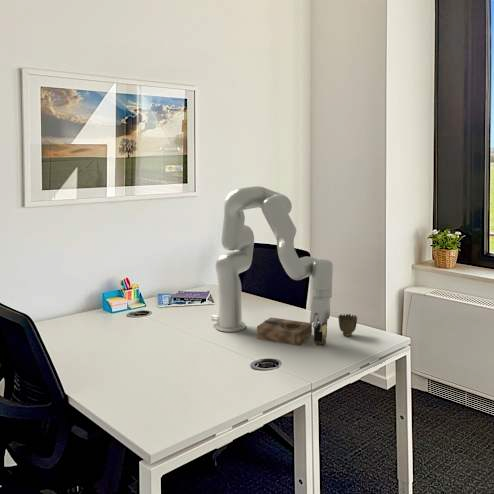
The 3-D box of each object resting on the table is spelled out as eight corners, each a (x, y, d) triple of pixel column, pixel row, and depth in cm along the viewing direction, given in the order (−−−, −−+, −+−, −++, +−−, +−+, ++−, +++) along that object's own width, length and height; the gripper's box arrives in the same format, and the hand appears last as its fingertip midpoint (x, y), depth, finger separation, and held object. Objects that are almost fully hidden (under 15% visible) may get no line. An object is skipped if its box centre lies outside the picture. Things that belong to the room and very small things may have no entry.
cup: (356, 339, 219) (357, 319, 217) (337, 338, 220) (338, 318, 219) (356, 333, 226) (357, 314, 225) (338, 332, 227) (338, 313, 226)
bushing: (312, 342, 213) (313, 325, 211) (316, 339, 216) (317, 321, 215) (323, 344, 211) (324, 327, 209) (327, 341, 215) (328, 323, 213)
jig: (257, 338, 221) (257, 324, 220) (270, 328, 232) (270, 315, 231) (299, 345, 213) (299, 330, 212) (311, 335, 224) (311, 321, 223)
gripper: (319, 286, 219) (318, 330, 222) (304, 296, 204) (302, 344, 208) (338, 288, 216) (336, 333, 219) (323, 299, 201) (322, 347, 204)
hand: (320, 338), depth 213 cm, fingers closed on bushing, 4 cm apart
